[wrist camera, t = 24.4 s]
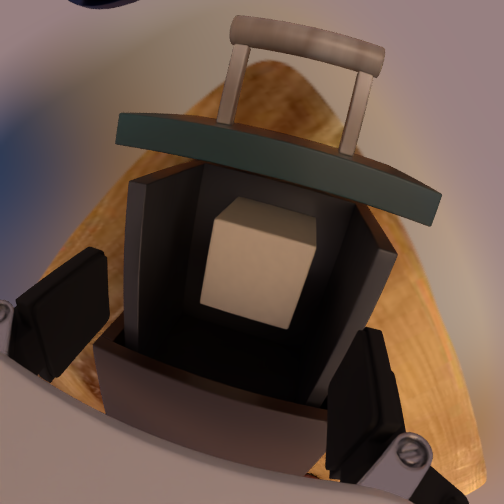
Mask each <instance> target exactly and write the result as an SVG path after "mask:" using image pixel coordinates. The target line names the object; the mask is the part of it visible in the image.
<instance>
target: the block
mask: <svg viewBox="0 0 504 504" xmlns="http://www.w3.org/2000/svg"><path fill="white" fill-rule="evenodd" d="M315 251H316V218H315V217H311V216H308V215H304V214H301V213H298V212H294V211H291V210H287V209H283V208H280V207H276V206H273V205H269V204H265V203H262V202H258V201H254V200H251V199H247V198H243V197H237V198H236V199H235V200H234V201H233V202H232V203H231V204H230V205H229V206H228V207H227V208H226V209H224V210H223V211H222V212H221V213H220V214H219V215H218V216H217V217H216V218H215V219H214V224H213V229H212V234H211V240H210V245H209V251H208V256H207V262H206V268H205V274H204V280H203V286H202V292H201V298H200V303H201V304H204V305H207V306H210V307H213V308H216V309H219V310H222V311H226V312H229V313H232V314H235V315H239V316H242V317H245V318H249V319H252V320H255V321H259V322H262V323H266V324H269V325H273V326H276V327H280V328H283V329H288V328H289V325H290V322H291V320H292V317H293V314H294V311H295V309H296V306H297V303H298V300H299V297H300V295H301V292H302V289H303V286H304V283H305V280H306V278H307V275H308V272H309V269H310V266H311V263H312V260H313V257H314V254H315Z"/></svg>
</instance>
